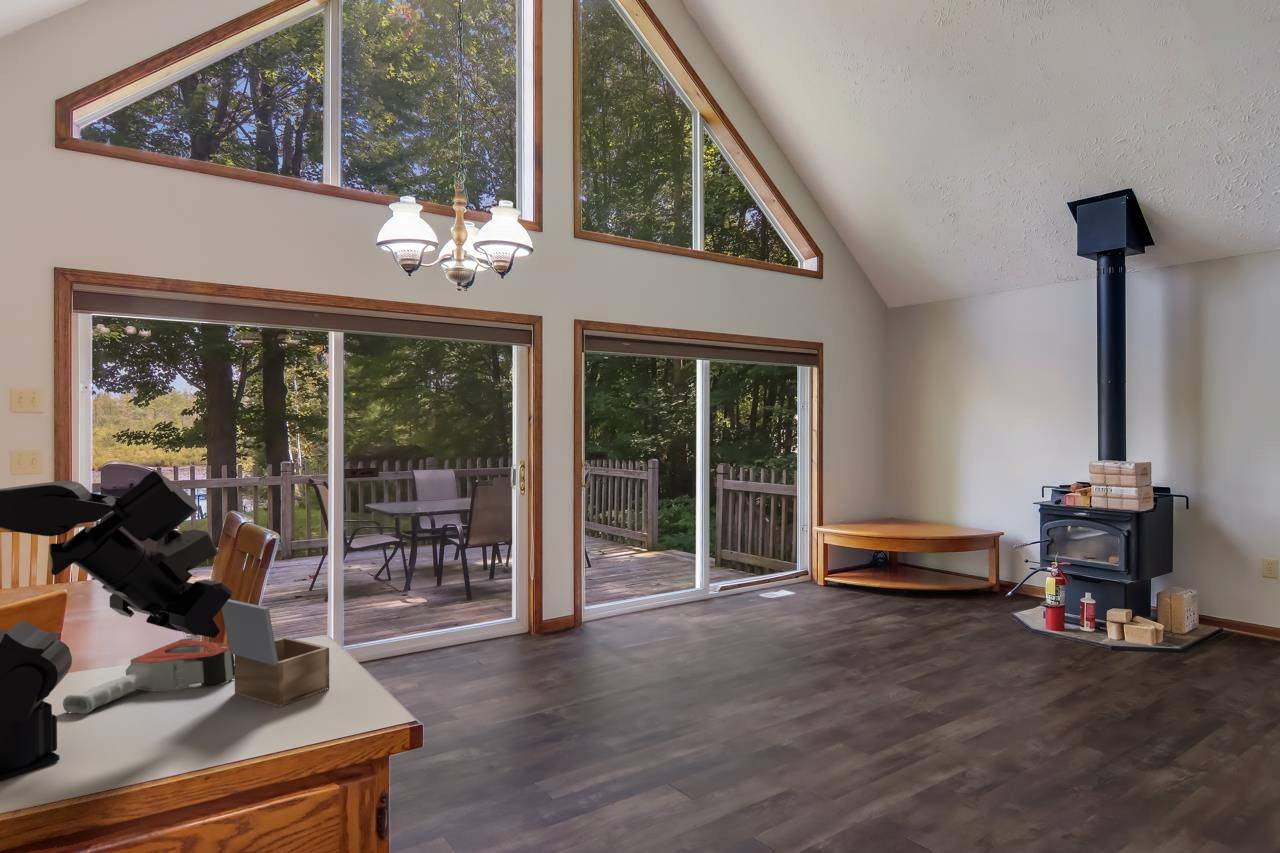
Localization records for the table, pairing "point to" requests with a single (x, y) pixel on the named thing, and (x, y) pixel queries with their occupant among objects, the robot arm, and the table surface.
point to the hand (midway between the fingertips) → (216, 634)
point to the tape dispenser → (162, 673)
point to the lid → (249, 631)
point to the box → (284, 673)
